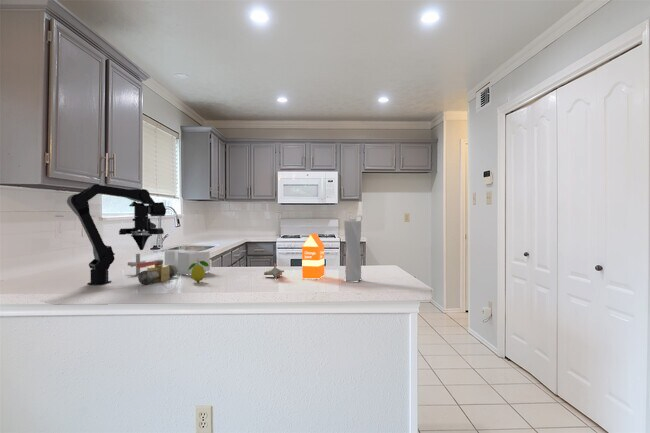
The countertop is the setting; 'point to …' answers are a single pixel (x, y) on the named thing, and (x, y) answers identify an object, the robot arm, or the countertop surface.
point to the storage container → (186, 259)
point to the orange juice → (313, 257)
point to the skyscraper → (353, 249)
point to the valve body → (157, 274)
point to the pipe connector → (136, 263)
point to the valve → (274, 272)
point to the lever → (149, 263)
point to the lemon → (198, 271)
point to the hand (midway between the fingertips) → (141, 250)
